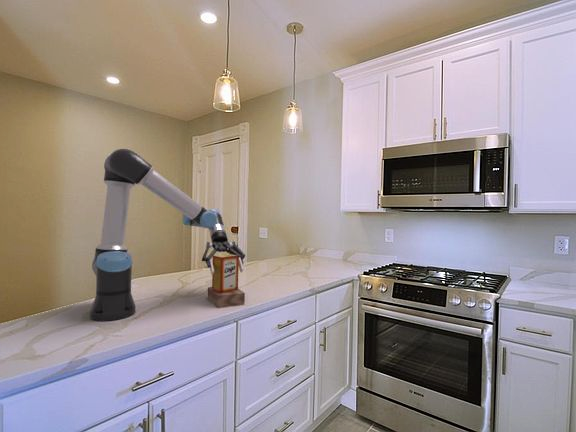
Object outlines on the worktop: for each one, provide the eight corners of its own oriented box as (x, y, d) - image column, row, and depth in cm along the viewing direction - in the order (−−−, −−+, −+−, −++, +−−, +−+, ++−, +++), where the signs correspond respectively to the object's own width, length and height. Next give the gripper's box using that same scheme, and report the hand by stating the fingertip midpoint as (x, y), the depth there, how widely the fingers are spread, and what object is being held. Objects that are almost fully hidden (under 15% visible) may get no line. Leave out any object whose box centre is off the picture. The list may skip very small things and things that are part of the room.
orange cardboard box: (220, 293, 132) (221, 256, 131) (211, 290, 136) (212, 254, 136) (237, 289, 139) (238, 254, 139) (228, 287, 143) (229, 253, 143)
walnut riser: (217, 307, 127) (218, 295, 127) (207, 298, 141) (207, 287, 141) (244, 304, 133) (244, 292, 133) (231, 295, 147) (232, 284, 147)
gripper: (240, 240, 157) (251, 274, 144) (191, 241, 144) (197, 278, 131) (244, 230, 152) (256, 265, 139) (193, 230, 139) (201, 268, 127)
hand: (227, 271), depth 135 cm, fingers open, 13 cm apart
